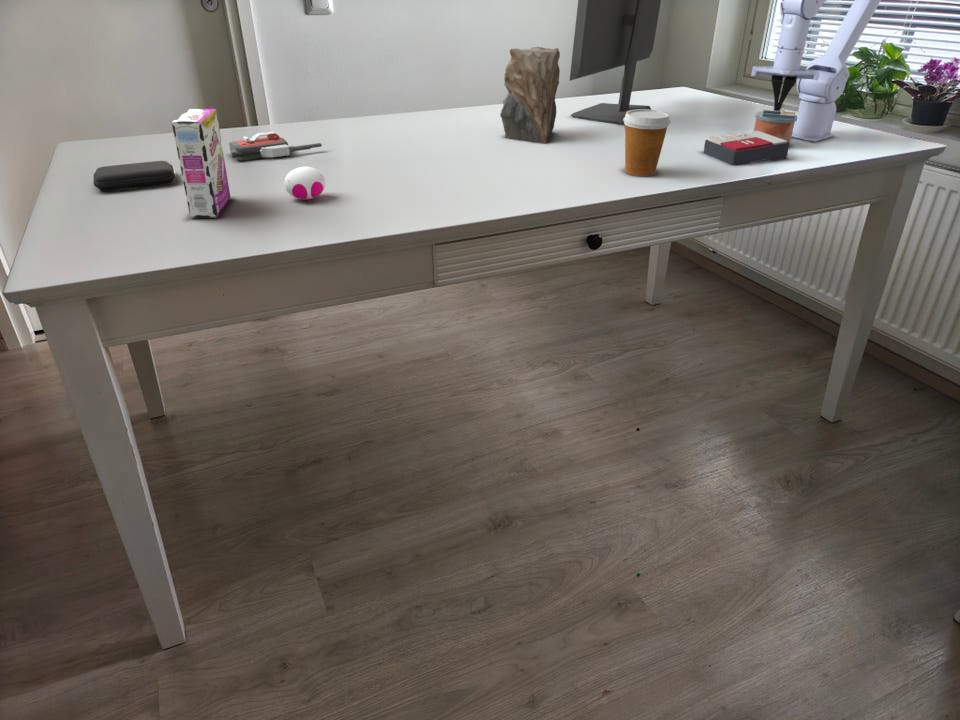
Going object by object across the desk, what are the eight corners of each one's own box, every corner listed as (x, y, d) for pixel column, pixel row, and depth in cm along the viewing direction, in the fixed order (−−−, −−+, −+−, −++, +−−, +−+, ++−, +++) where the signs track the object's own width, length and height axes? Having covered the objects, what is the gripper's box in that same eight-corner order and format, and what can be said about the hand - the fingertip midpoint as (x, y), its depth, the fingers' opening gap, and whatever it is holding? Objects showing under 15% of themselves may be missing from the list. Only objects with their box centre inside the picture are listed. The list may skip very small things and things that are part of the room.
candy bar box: (219, 218, 123) (200, 122, 114) (189, 219, 122) (169, 122, 114) (232, 197, 132) (216, 107, 124) (205, 198, 132) (187, 107, 123)
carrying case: (173, 170, 146) (95, 179, 141) (170, 156, 145) (91, 164, 139) (178, 185, 138) (95, 194, 133) (175, 169, 137) (91, 178, 131)
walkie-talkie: (236, 164, 151) (324, 152, 160) (232, 143, 148) (321, 132, 158) (224, 155, 157) (309, 143, 166) (221, 135, 155) (307, 124, 164)
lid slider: (780, 115, 165) (782, 107, 165) (780, 113, 168) (782, 105, 167) (794, 117, 165) (796, 109, 164) (794, 114, 167) (796, 106, 166)
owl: (498, 137, 173) (500, 49, 163) (518, 126, 183) (522, 43, 172) (545, 143, 168) (551, 53, 158) (564, 132, 178) (570, 47, 168)
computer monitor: (619, 99, 214) (636, -52, 193) (669, 106, 206) (692, -51, 185) (545, 126, 184) (555, -51, 163) (601, 135, 176) (619, -49, 155)
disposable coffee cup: (636, 181, 144) (644, 120, 137) (608, 169, 151) (614, 111, 145) (672, 175, 147) (681, 116, 141) (643, 163, 155) (651, 107, 148)
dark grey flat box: (704, 136, 161) (758, 128, 165) (702, 155, 163) (755, 146, 167) (735, 148, 152) (791, 139, 156) (732, 168, 155) (787, 158, 159)
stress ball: (291, 220, 131) (290, 198, 126) (282, 186, 134) (280, 163, 128) (331, 213, 134) (331, 191, 128) (321, 180, 137) (321, 157, 131)
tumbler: (749, 146, 168) (755, 115, 164) (750, 137, 176) (756, 107, 172) (790, 150, 165) (798, 118, 162) (790, 141, 173) (797, 110, 169)
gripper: (756, 48, 158) (744, 110, 165) (825, 52, 154) (810, 116, 161) (757, 44, 164) (745, 105, 171) (824, 48, 160) (809, 110, 167)
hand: (776, 110), depth 166 cm, fingers closed
